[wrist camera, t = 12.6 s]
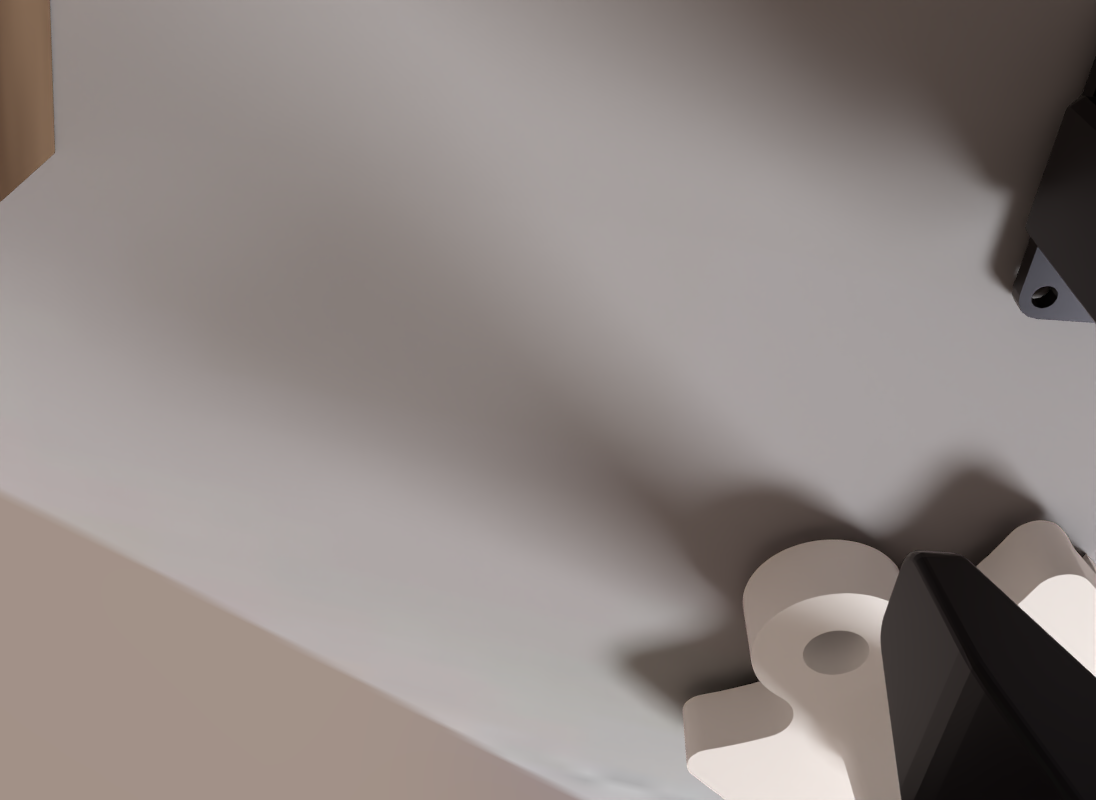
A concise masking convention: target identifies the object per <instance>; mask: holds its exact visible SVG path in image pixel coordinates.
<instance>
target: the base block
mask: <svg viewBox="0 0 1096 800" xmlns="http://www.w3.org/2000/svg"><path fill="white" fill-rule="evenodd" d="M54 153H55V140H54V110H53V81H52V51H51V21H50V0H0V202H1V201H2V200H3V199H4V198H5V197H6V196H8V195H9V194H10V193H11V192H12V191H13V190H14V189H15V188H16V187H18V186H19V185H20V184H21V183H22V182H23V181H24V180H25V179H26V178H28V177H29V176H30V175H31V174H32V173H33V172H34V171H35V170H36V169H38V168H39V167H40V166H41V165H42V164H43V163H44V162H45V161H46V160H48V159H49V158H50V157H51V156H52V155H53V154H54Z"/></svg>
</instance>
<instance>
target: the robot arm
mask: <svg viewBox="0 0 1096 800" xmlns="http://www.w3.org/2000/svg"><path fill="white" fill-rule="evenodd" d="M1026 231H1027V232H1028V234H1029V235H1030V237H1031V238H1030V241H1029V243H1028V246H1027V249H1026V252H1025V255H1024V257H1023V260H1022V263H1021V266H1020V269H1019V271H1018V274H1017V277H1016V280H1015V282H1014V285H1013V292H1012V295H1013V298H1014V300H1015V302H1016V304H1017V305H1018V307H1019V308H1020V310H1021V311H1022V312H1023V313H1024V314H1025V315H1026V316H1028V317H1032V318H1036V319H1047V320H1062V321H1076V322H1090V323H1096V57H1095V60H1094V63H1093V66H1092V68H1091V71H1090V74H1089V77H1088V79H1087V82H1086V85H1085V88H1084V91H1083V93H1082V96H1080V97H1079V98H1078V99H1077V100H1076V101H1075V102H1073V103H1072V104H1071V105H1070V106H1069V107H1068V108H1067V110H1066V112H1065V115H1064V118H1063V121H1062V123H1061V126H1060V129H1059V132H1058V135H1057V137H1056V140H1055V143H1054V146H1053V149H1052V152H1051V154H1050V157H1049V160H1048V163H1047V166H1046V169H1045V171H1044V174H1043V177H1042V180H1041V183H1040V186H1039V188H1038V191H1037V194H1036V197H1035V200H1034V202H1033V205H1032V208H1031V211H1030V214H1029V217H1028V219H1027V222H1026ZM1045 286H1051V288H1050V290H1049V291H1048V293H1047V294H1046V295H1044V296H1042V297H1041V298H1035V299H1033V298H1032V295H1033V294H1034V292H1035V291H1036V290H1038V289H1039V288H1041V287H1045ZM880 642H881V654H882V661H883V669H884V676H885V684H886V691H887V699H888V706H889V714H890V721H891V729H892V736H893V744H894V752H895V759H896V767H897V774H898V782H899V789H900V796H901V800H1096V677H1095V676H1094V675H1093V674H1092V673H1091V672H1090V671H1089V670H1087V669H1086V668H1085V667H1084V666H1083V665H1082V664H1081V663H1080V662H1079V661H1078V660H1077V659H1076V658H1074V657H1073V656H1072V655H1071V654H1070V653H1069V652H1068V651H1067V650H1066V649H1065V648H1064V647H1062V646H1061V645H1060V644H1059V643H1058V642H1057V641H1056V640H1055V639H1054V638H1053V637H1052V636H1051V635H1049V634H1048V633H1047V632H1046V631H1045V630H1044V629H1043V628H1042V627H1041V626H1040V625H1039V624H1038V623H1036V622H1035V621H1034V620H1033V619H1032V618H1031V617H1030V616H1029V615H1028V614H1027V613H1026V612H1025V611H1023V610H1022V609H1021V608H1020V607H1019V606H1018V605H1017V604H1016V603H1015V602H1014V601H1013V600H1011V599H1010V598H1009V597H1008V596H1007V595H1006V594H1005V593H1004V592H1003V591H1002V590H1001V589H1000V588H998V587H997V586H996V585H995V584H994V583H993V582H992V581H991V580H990V579H989V578H988V577H987V576H985V575H984V574H983V573H982V572H981V571H980V570H979V569H978V568H977V567H976V566H975V565H973V564H972V563H971V562H970V561H969V560H968V559H966V558H965V557H964V556H962V555H960V554H956V553H948V552H934V551H914V552H911V553H909V554H908V555H907V557H906V558H905V559H904V561H903V563H902V565H901V568H900V571H899V574H898V577H897V580H896V582H895V585H894V588H893V591H892V594H891V597H890V600H889V602H888V605H887V608H886V611H885V614H884V617H883V620H882V625H881V635H880Z"/></svg>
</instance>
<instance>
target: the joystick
mask: <svg viewBox="0 0 1096 800" xmlns="http://www.w3.org/2000/svg"><path fill="white" fill-rule="evenodd" d="M976 567H977V568H978V569H979V570H980V571H981V572H982V573H983V574H984V575H985V576H987V577H988V578H989V579H990V580H991V581H992V582H993V583H994V584H995V585H996V586H997V587H998V588H1000V589H1001V590H1002V591H1003V592H1004V593H1005V594H1006V595H1007V596H1008V597H1009V598H1010V599H1011V600H1013V601H1014V602H1015V603H1016V604H1017V605H1018V606H1019V607H1020V608H1021V609H1022V610H1023V611H1025V612H1026V613H1027V614H1028V615H1029V616H1030V617H1031V618H1032V619H1033V620H1034V621H1035V622H1036V623H1038V624H1039V625H1040V626H1041V627H1042V628H1043V629H1044V630H1045V631H1046V632H1047V633H1048V634H1049V635H1051V636H1052V637H1053V638H1054V639H1055V640H1056V641H1057V642H1058V643H1059V644H1060V645H1061V646H1062V647H1064V648H1065V649H1066V650H1067V651H1068V652H1069V653H1070V654H1071V655H1072V656H1073V657H1074V658H1076V659H1077V660H1078V661H1079V662H1080V663H1081V664H1082V665H1083V666H1084V667H1085V668H1086V669H1087V670H1089V671H1090V672H1091V673H1092V674H1093V675H1094V676H1095V677H1096V565H1095V563H1094V562H1093V561H1092V560H1091V559H1090V558H1089V556H1088V555H1087V554H1085V555H1084V556H1083V557H1081V556H1080V555H1079V554H1078V552H1077V551H1076V550H1075V549H1074V547H1073V546H1072V544H1071V542H1070V540H1069V538H1068V536H1067V535H1066V533H1065V532H1064V531H1063V530H1062V529H1061V527H1060V526H1058V525H1057V524H1055V523H1053V522H1050V521H1044V520H1038V521H1031V522H1028V523H1025V524H1023V525H1021V526H1019V527H1017V528H1016V529H1015V530H1013V531H1012V532H1011V533H1010V534H1009V535H1008V536H1007V537H1006V538H1005V539H1004V540H1003V542H1002V543H1001V544H1000V545H999V546H998V547H996V548H995V549H994V550H993V551H992V552H991V553H990V554H989V555H988V556H987V557H986V558H985V559H984V560H983V561H982V562H980V563H979V564H978V565H977V566H976ZM898 574H899V569H898V567H897V566H896V565H895V563H894V562H893V561H892V560H891V559H890V558H889V557H887V556H886V555H885V554H883V553H882V552H880V551H878V550H877V549H875V548H872V547H870V546H867V545H865V544H861V543H858V542H853V541H847V540H818V541H811V542H806V543H802V544H799V545H796V546H793V547H790V548H788V549H785V550H783V551H781V552H779V553H777V554H776V555H774V556H772V557H771V558H769V559H768V560H767V561H765V562H764V563H763V564H762V565H761V566H760V567H759V568H758V569H757V570H756V571H755V572H754V573H753V575H752V576H751V577H750V579H749V581H748V583H747V585H746V587H745V590H744V594H743V610H744V617H745V623H746V630H747V636H748V643H749V650H750V656H751V663H752V667H753V670H754V672H755V674H756V676H757V678H758V679H759V681H760V682H756V683H752V684H749V685H745V686H740V687H736V688H732V689H728V690H723V691H718V692H713V693H708V694H702V695H698V696H695V697H693V698H691V699H689V700H688V701H687V702H686V703H685V704H684V706H683V722H684V735H685V747H686V760H687V769H688V771H689V772H690V773H691V774H692V775H693V776H694V777H696V778H697V779H698V780H700V781H701V782H702V783H704V784H705V785H706V786H708V787H709V788H710V789H711V790H713V791H714V792H715V793H717V794H718V795H719V796H721V797H722V798H723V799H725V800H901V796H900V789H899V782H898V774H897V767H896V759H895V752H894V744H893V736H892V729H891V721H890V714H889V706H888V699H887V691H886V684H885V676H884V669H883V661H882V654H881V642H880V635H881V625H882V620H883V617H884V614H885V611H886V608H887V605H888V602H889V600H890V597H891V594H892V591H893V588H894V585H895V582H896V580H897V577H898Z"/></svg>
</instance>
